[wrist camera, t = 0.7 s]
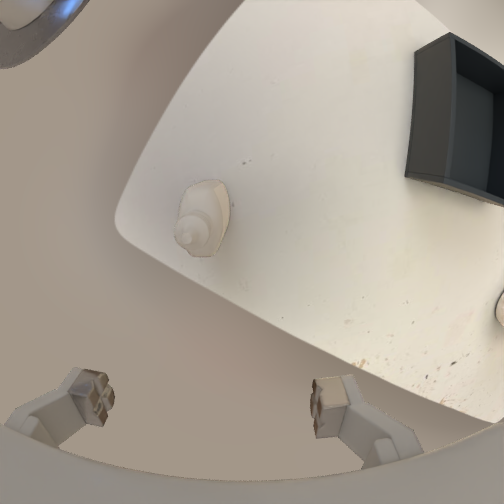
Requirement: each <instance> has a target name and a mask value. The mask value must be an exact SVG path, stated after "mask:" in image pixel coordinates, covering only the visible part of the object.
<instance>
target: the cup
mask: <svg viewBox="0 0 504 504" xmlns="http://www.w3.org/2000/svg"><path fill="white" fill-rule="evenodd" d="M496 318H497V319H498V321H499V322H500V323H501V324H502V326H503V327H504V293H503V294H502V296H501V297H500V300H499V302H498V304H497V308H496Z"/></svg>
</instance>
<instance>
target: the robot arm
mask: <svg viewBox="0 0 504 504" xmlns="http://www.w3.org/2000/svg"><path fill="white" fill-rule="evenodd" d="M53 1H54V0H0V22H1V23H3V25H4V26H5V27H6V28H7V29H9V30H17V29H20V28H22V27H24V26H26V25H28V24H29V23H31V22H32V21H33V20H35V19H36V18H37V17H38V16H39V15H40V14H42V13H43V12H44V11H45V10H46V9H47V8H48V6H49V5H50V4H51V3H52V2H53ZM108 381H109V379H108V376H107V374H106V373H103V372H98V371H93V370H88V369H81V368H77V367H75V368H73V369H72V370H71V371H70V373H69V374H68V376H67V377H66V378H65V380H64V381H63V382H62V384H61V385H60V387H59V388H58V390H52V391H51V392H48V393H46V394H44V395H42V396H40V397H38V398H36V399H34V400H32V401H30V402H28V403H26V404H24V405H22V406H20V407H18V408H16V409H15V410H14V412H13V413H12V414H11V416H10V417H9V419H8V420H7V421H6V423H5V424H4V425H2V424H0V504H504V423H496V424H494V425H492V426H489V427H487V428H485V429H483V430H481V431H479V432H477V433H474V434H472V435H470V436H468V437H465V438H463V439H461V440H458V441H456V442H453V443H451V444H448V445H446V446H443V447H440V448H437V449H435V450H432V451H429V452H426V453H424V451H423V449H422V447H421V445H420V443H419V440H418V438H417V436H416V434H415V432H414V430H412V429H411V428H409V427H407V426H406V425H404V424H402V423H401V422H399V421H397V420H396V419H394V418H392V417H391V416H389V415H388V414H386V413H385V412H383V411H381V410H380V409H378V408H376V407H375V406H373V405H372V404H370V403H365V401H364V399H363V396H362V394H361V392H360V389H359V387H358V385H357V382H356V380H355V377H354V376H353V375H344V376H338V377H328V378H318V379H314V380H313V384H312V388H313V393H312V394H311V399H310V409H311V416H312V418H314V419H315V420H314V430H315V435H316V438H328V437H337V436H338V438H340V439H341V440H342V441H343V442H344V443H345V444H346V445H347V446H348V447H349V448H350V449H351V450H352V451H353V452H354V453H355V454H357V455H358V456H359V457H360V458H361V459H362V460H363V461H364V464H363V466H362V468H361V470H357V471H351V472H346V473H340V474H333V475H327V476H320V477H311V478H301V479H288V480H270V481H223V480H206V479H194V478H184V477H175V476H168V475H161V474H155V473H149V472H143V471H138V470H133V469H128V468H124V467H119V466H114V465H111V464H106V463H103V462H99V461H95V460H92V459H89V458H85V457H82V456H78V455H75V454H72V453H69V452H66V451H63V450H61V449H60V448H59V447H58V446H59V445H60V444H61V443H62V442H64V441H65V440H67V439H68V438H69V437H70V436H72V435H73V434H74V433H76V432H77V431H78V430H80V429H81V428H82V427H83V426H85V425H86V424H90V425H96V426H100V427H103V426H104V424H105V422H106V419H107V417H108V414H107V411H109V410H110V409H112V407H113V404H114V399H115V396H114V391H113V389H112V387H111V386H110V385H109V384H108Z"/></svg>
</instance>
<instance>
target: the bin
mask: <svg viewBox="0 0 504 504" xmlns="http://www.w3.org/2000/svg"><path fill="white" fill-rule="evenodd" d="M405 177H407V178H411V179H415V180H418V181H422V182H425V183H429V184H432V185H435V186H439V187H442V188H445V189H448V190H452V191H455V192H458V193H461V194H464V195H467V196H470V197H473V198H475V199H478V200H481V201H484V202H487V203H491V204H494V205H498V206H501V207H504V65H502V64H501V63H500V62H498V61H497V60H495V59H494V58H492V57H491V56H489V55H488V54H486V53H485V52H483V51H481V50H480V49H478V48H477V47H475V46H474V45H472V44H470V43H468V42H467V41H465V40H463V39H461V38H460V37H458V36H456V35H454V34H453V33H451V32H449V33H447V34H445V35H443V36H441V37H440V38H438V39H436V40H434V41H433V42H431V43H429V44H427V45H426V46H424V47H422V48H420V49H419V50H417V51H415V68H414V94H413V110H412V122H411V132H410V141H409V149H408V157H407V164H406V171H405Z"/></svg>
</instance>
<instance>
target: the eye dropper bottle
mask: <svg viewBox="0 0 504 504" xmlns="http://www.w3.org/2000/svg"><path fill="white" fill-rule="evenodd" d="M229 218H230V202H229V197H228V193H227V190H226V188H225V186H224V184H223V182H221V181H220V180H206V181H202V182H200V183H197V184H195V185H192V186H190V187H188V188H187V189H186V190H185V192H184V194H183V196H182V199H181V202H180V206H179V213H178V221H177V223H176V225H175V228H174V236H175V238H176V239H175V240H176V241H177V243H178V244H179V245H180V246H181V247H182V248H184V249H186V250H187V251H188V253H189V254H190V255H191V256H193V257H211V256H213V255H214V254H215V253H216V252H217V250H218V248H219V246H220V244H221V242H222V239H223V237H224V234H225V232H226V229H227V226H228V223H229Z"/></svg>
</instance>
